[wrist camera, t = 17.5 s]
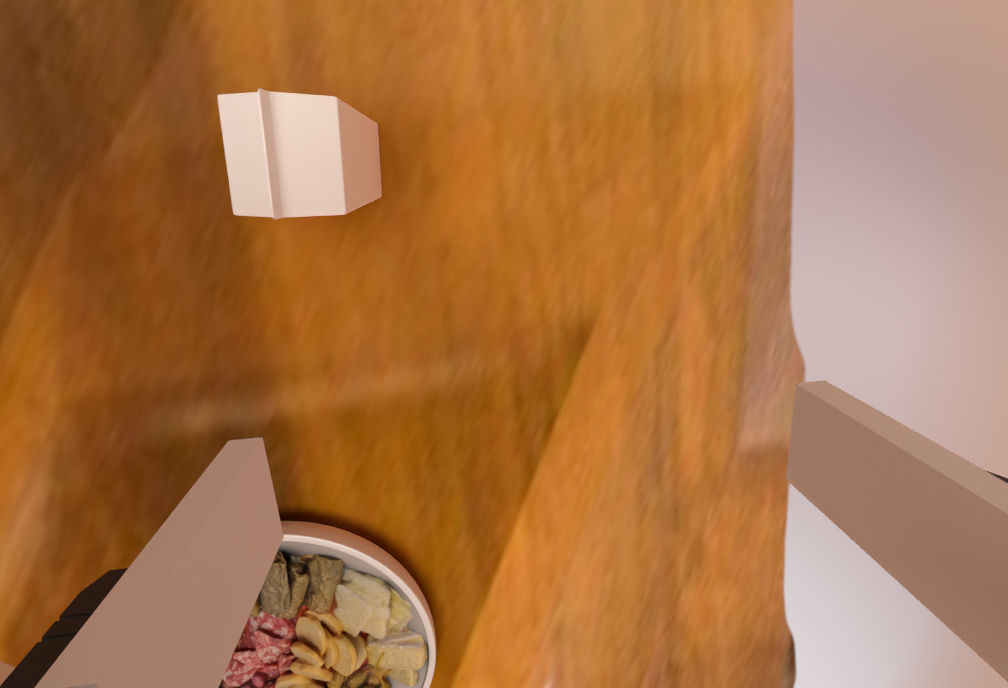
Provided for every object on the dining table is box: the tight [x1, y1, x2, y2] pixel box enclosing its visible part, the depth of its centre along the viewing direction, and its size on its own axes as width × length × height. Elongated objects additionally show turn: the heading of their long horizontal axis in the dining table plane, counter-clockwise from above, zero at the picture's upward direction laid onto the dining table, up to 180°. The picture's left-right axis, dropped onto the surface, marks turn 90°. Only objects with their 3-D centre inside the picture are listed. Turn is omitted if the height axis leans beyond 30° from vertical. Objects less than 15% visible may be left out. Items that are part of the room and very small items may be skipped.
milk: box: [217, 88, 382, 220], centre depth 37 cm, size 6×6×22 cm
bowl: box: [219, 521, 436, 688], centre depth 57 cm, size 30×30×8 cm
